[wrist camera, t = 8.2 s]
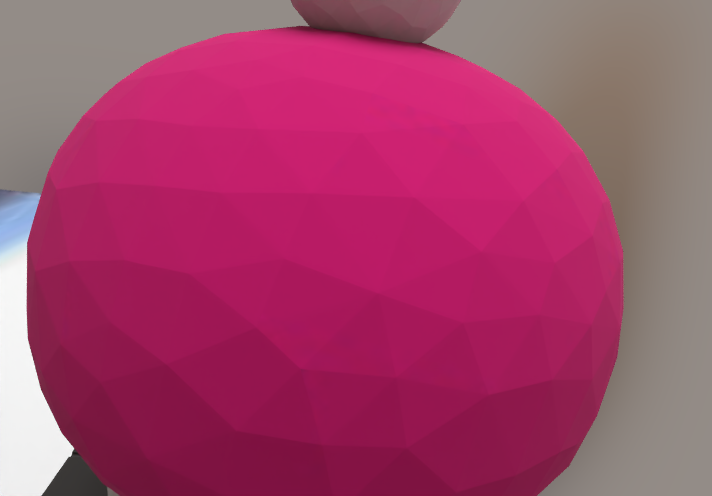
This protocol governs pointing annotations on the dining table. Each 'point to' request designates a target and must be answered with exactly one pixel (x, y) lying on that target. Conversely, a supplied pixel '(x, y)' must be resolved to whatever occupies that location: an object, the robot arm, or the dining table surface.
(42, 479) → the dining table surface
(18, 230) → the dining table surface
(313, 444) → the pepper mill
